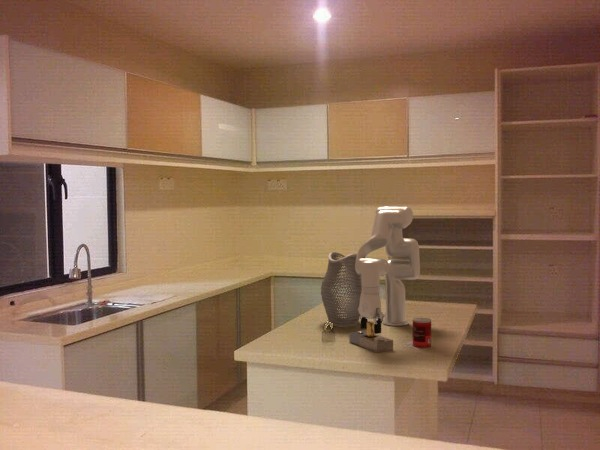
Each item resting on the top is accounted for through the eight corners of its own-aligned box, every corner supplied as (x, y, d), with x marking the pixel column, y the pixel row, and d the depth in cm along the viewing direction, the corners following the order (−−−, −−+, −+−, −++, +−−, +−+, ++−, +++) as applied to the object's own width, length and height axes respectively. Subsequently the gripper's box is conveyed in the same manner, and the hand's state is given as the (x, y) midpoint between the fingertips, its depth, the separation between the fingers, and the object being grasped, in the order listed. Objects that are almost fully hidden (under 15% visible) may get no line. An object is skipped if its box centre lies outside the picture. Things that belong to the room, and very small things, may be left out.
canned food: (428, 342, 247) (428, 317, 246) (433, 347, 239) (433, 321, 238) (410, 343, 246) (410, 317, 246) (415, 348, 238) (415, 321, 238)
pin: (365, 345, 243) (365, 321, 243) (371, 344, 245) (371, 321, 244) (369, 347, 240) (369, 323, 240) (376, 346, 242) (375, 322, 241)
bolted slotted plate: (349, 342, 249) (349, 331, 249) (364, 339, 253) (364, 329, 253) (376, 352, 232) (376, 341, 231) (393, 350, 235) (393, 338, 235)
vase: (313, 325, 282) (312, 254, 281) (332, 317, 302) (331, 250, 300) (355, 330, 272) (355, 255, 270) (372, 321, 291) (372, 251, 290)
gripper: (351, 288, 247) (351, 328, 248) (375, 294, 232) (375, 336, 233) (366, 286, 251) (366, 325, 252) (390, 292, 236) (390, 334, 236)
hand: (370, 330), depth 242 cm, fingers open, 9 cm apart
